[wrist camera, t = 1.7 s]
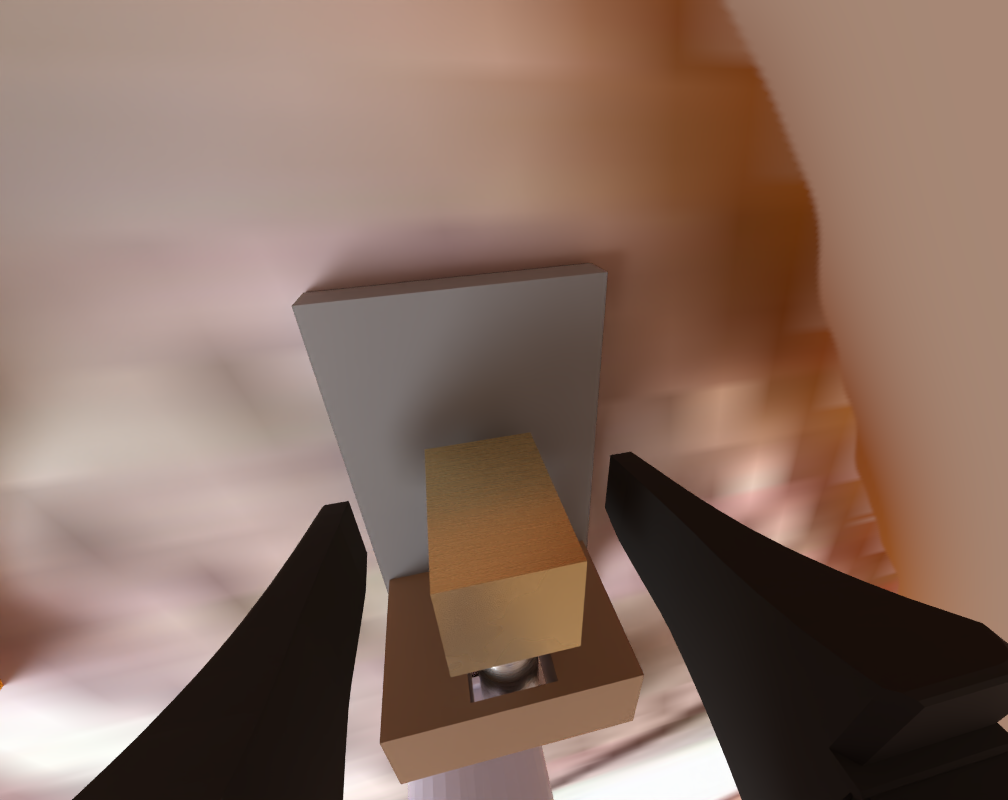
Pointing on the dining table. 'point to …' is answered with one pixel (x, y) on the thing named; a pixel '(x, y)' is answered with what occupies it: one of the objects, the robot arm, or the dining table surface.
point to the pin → (501, 561)
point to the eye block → (455, 420)
